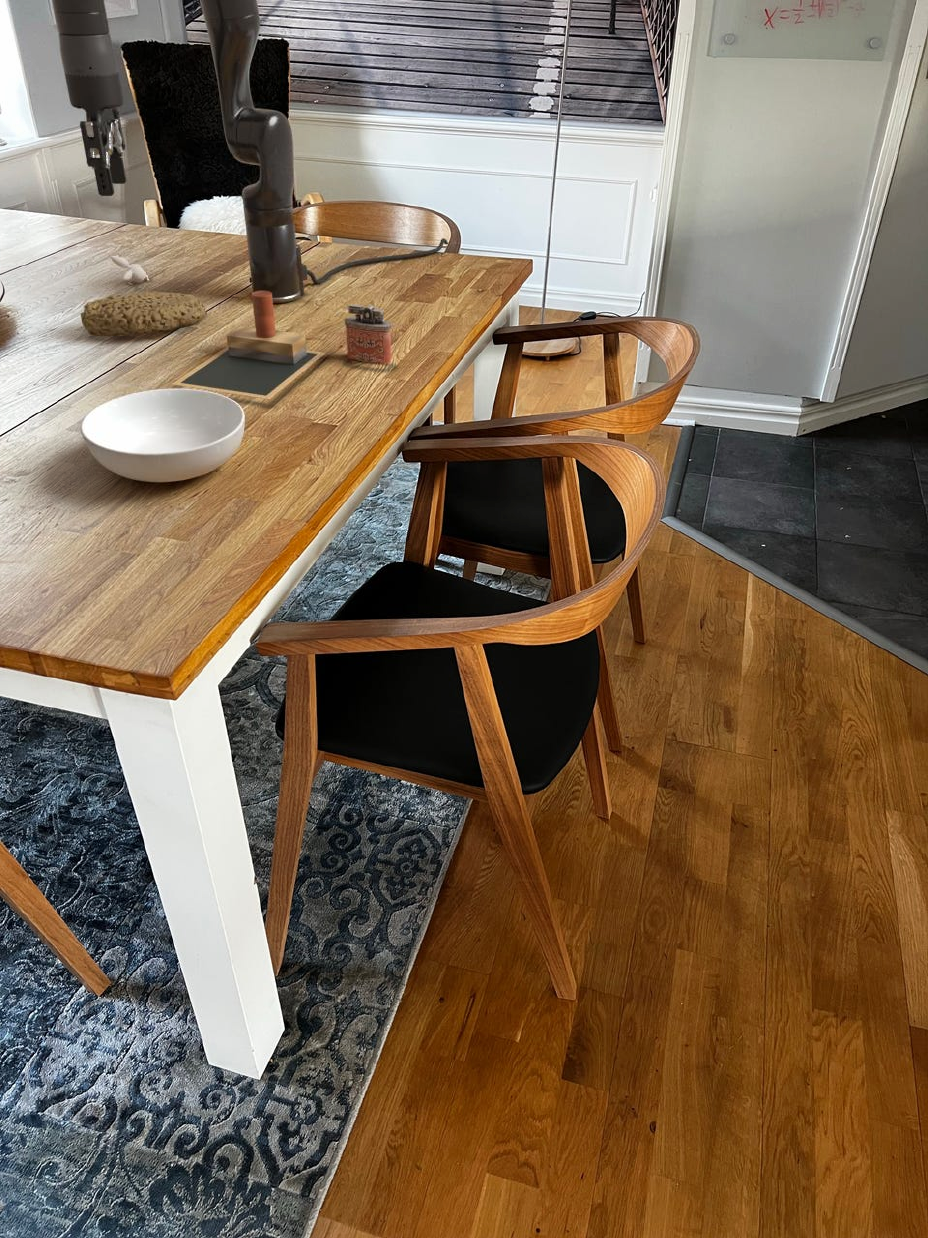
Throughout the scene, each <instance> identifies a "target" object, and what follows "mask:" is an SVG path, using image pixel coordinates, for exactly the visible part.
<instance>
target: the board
mask: <svg viewBox="0 0 928 1238" xmlns="http://www.w3.org/2000/svg"><path fill="white" fill-rule="evenodd" d="M324 355H326V352H322V351H317V350H309V349H307V355H306V356H305V357H303V358H302V359H301V360H300V361H298V362H297V363H296V364H295V365H292V364H285V363H277V362H270V361H263V360H256V359H249V358H242V357H235V356H229V350H228V345H227V346H226V347H224V348H223V349H221V350H219V351H218V352H217V353H215V354H214V355H213V356H210V358H208V359H206V360H204V362H203V361H202V363H201V364H199V365H197V366H196V367H194V368H193V369H192V370H190V371H189V372H187V373H186V374H183V376H181V377H180V378H178V379H177V380H175V381H174V382H172V383H171V385H172V386H173V385H174V386H178V387H186V388H190V389H197V390H203V391H210V392H218V393H223V394H224V393H225V394H226V393H227V394H231V395H238V396H245V397H251V398H257V399H264V400H270V399H271V398H272V397H274V396H276V395H277V393H279V392H280V391H281V390H282V389H283V388H285V387H286V386H287V385H289V383H291V382H292V381H293V380H295V378H297V377H298V376H299V375H301V374H302V373H303V372H304V371H305V370H308V368H309V367H311V366H312V364H314V363H315V362H317V361H318V360H319V359H320V358H322V357H323V356H324Z"/></svg>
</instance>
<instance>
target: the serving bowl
mask: <svg viewBox="0 0 928 1238" xmlns="http://www.w3.org/2000/svg"><path fill="white" fill-rule="evenodd" d="M243 409H244V408H242V406H241V405H240V404H239V403H237V402H236V401H235V400H234V399H232V398H230V397H228V396H225V395H223V394H220V393H217V392H215V391H210V390H204V389H197V388H159V389H150V390H142V391H138V392H133V393H128V394H125V395H122V396H121V395H120V396H118V397H116V398H113V399H110V400H107V401H105V402H103V403H101V404H99V405H98V406H96V407H94V408H93V409H92V410H90V412H88V413H87V414H86V415H85V416H84V418H82V421H81V423H80V433H81V435H82V438H83V440H84V444H85V445H86V447H87V449H88V450H89V452H90V453H91V455H92V456H93V458H94V459H95V460H96V461H97V462H98V463H99V464H101V466H103V467H104V468H106V469H107V470H109V471H111V472H112V473H114V474H116V475H119V476H121V477H123V478H127V479H130V480H135V481H140V482H149V483H170V482H178V481H184V480H190V479H194V478H197V477H201V476H204V475H206V474H208V473H210V472H212V471H215V470H217V469H218V468H221V466H222V465H224V464H225V463H227V462H228V461H229V460H230V459H231V458H232V457H233V456H234V455H235V453H236V452H237V450H238V449H239V447H240V445H241V443H242V441H243V437H244V434H245V422H246V415H245V411H244V410H243Z"/></svg>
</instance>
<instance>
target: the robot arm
mask: <svg viewBox="0 0 928 1238" xmlns="http://www.w3.org/2000/svg"><path fill="white" fill-rule="evenodd" d="M199 2H200V7H201V11H202V16H203V20H204V23H205V27H206V33H207V35H208V39H209V45H210V49H211V54H212V59H213V64H214V69H215V75H216V79H217V86H218V93H219V102H220V109H221V116H222V123H223V130H224V131H223V132H224V136H225V140H226V143H227V146H228V149H229V152H230V153H231V155H232V157H233V158H234V159H235V160H237V161H238V162H240V163H243V164H249V165H255V166H259V180H258V181H256V182H255V183H252V184H249V185H246V186H245V187H244V188H243V189H242V191H241V193H242V194H241V197H242V205H243V215H244V223H245V224H244V226H245V233H246V243H247V252H248V260H249V261H248V262H249V270H250V277H249V283H250V284H251V289H252V291H251V294H252V293H253V292H256V291H269V292H271V293H272V300H273V304H283V303H288V302H289V303H290V302H294V301H295V300H297V299H300V297H301V296H304V295H305V288H304V287H305V286H304V281H307V280H308V276H309V277H310V279H311V281H312V282H313V284H315V285H320V284H322V283H324V282H326V281H327V280H328V279H329V278H330V277H331V276H333V275H334V274H336V273H338V272H340V271H343V270H345V269H348V268H351V267H355V266H360V265H365V264H366V265H367V264H372V263H379V262H387V261H395V260H404V259H405V260H406V259H410V258H411V259H412V258H419V257H423V256H429V255H432V254H436V253H438V252H439V251H441V249H442V248H443V247H444V245H449V242H448V240H447V239H446V238H444V237H443V238H441V239H440V242H439V243H438V246H437V247H435V248H433V249H432V248H431V249H429V250H425V251H426V252H423V251H418V252H412V253H404V254H396V255H386V256H385V255H384V256H379V257H378V256H377V257H373V258H365V259H359V260H355V261H351V262H350V261H349V262H346V263H344V264H341V265H339V266H336V267H335V268H332V269H330V270H329V271H327V272H326V273H325V274H324V275H323V276H322V277H321V278H320V279H318V278H316V275H315V273H313V271H311V270H309V269H308V268H307V267H308V266H307V265H306V264H304V263H303V262H302V252H301V251H302V250H301V246H300V244H298V243H297V241H296V239H297V237H296V228H295V227H296V226H295V217H294V205H293V203H294V201H293V195H294V189H295V162H294V161H295V158H294V157H295V153H294V137H293V132H292V127H291V124H290V121H289V119H288V117H287V116H286V115H285V114H284V113H282V112H281V111H278V110H273V109H265V108H255V105H254V102H253V97H252V94H251V86H250V68H251V63H252V59H253V56H254V53H255V49H256V46H257V43H258V39H259V35H260V30H261V29H260V28H261V17H260V9H259V5H258V0H199ZM51 3H52V9H53V15H54V19H55V24H56V29H57V33H58V39H59V40H58V43H59V53H60V59H61V64H62V68H63V74H64V77H65V83H66V88H67V93H68V97H69V98H68V99H69V103H70V105H71V107H73V108H75V109H79V110H80V109H81V110H83V111H84V112H85V120H81V121H80V122H79V127H80V132H81V137H82V143H83V148H84V154H85V158H86V165H87V167H89V168H90V167H91V169H92V170H93V171H94V177H95V182H96V188H97V192H98V195H99V196H101V197H112V196H114V195H115V188H114V185H124V184H125V183H126V182H127V175H126V170H125V164H124V158H123V157H124V154H125V151H126V147H127V146H126V143H125V139H124V131H123V128H122V122H121V118H120V117H121V116H120V111H119V109H118V108H120V107H121V106H122V107H123V105H124V96H123V90H122V85H121V77H120V72H119V68H118V61H117V55H116V51H115V50H116V49H115V46H114V43H113V40H112V36H111V33H110V25H109V20H108V15H107V9H106V3H105V0H51ZM98 155H99V157H97V156H98Z"/></svg>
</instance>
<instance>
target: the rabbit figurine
mask: <svg viewBox="0 0 928 1238" xmlns="http://www.w3.org/2000/svg"><path fill="white" fill-rule="evenodd" d="M110 259H111V261H112V262H113V263H114V264H115V265H117V266H118V267H121V268H122V269H128V270H127V271H126V272H125V273H123V275H122V280H123V281H125V282H127V283H128V284H129V285H130V286H133V283H131V282H129V281H130V280H131V279H132V280H133V281H134V282H137V283H142V282H144V280H145V279H146V281H149V282H150V279H149V275H148V274H146V272H145V270H144V268H143V267H142V266H141V265H140V264H137V263H132V264H130V263H129V261H128V260H127V259H124V258H123V257H120V256H117V255H111V256H110Z"/></svg>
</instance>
